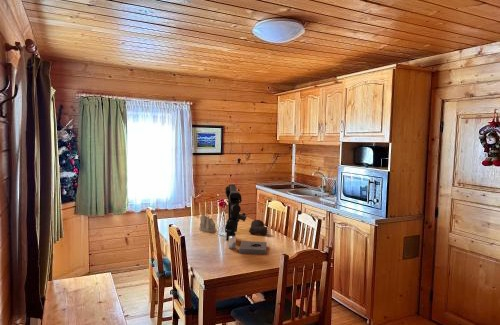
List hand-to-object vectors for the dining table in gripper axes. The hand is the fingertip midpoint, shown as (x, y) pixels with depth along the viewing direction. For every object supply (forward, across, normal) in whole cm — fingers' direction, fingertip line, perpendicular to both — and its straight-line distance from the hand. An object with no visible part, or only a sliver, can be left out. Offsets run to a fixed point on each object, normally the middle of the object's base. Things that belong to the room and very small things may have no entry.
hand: (234, 232), depth 245 cm
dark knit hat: (+11, +41, -16) cm, 45 cm away
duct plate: (+11, -2, -14) cm, 18 cm away
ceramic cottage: (+11, +45, +26) cm, 53 cm away
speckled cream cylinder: (+11, 0, +1) cm, 11 cm away
